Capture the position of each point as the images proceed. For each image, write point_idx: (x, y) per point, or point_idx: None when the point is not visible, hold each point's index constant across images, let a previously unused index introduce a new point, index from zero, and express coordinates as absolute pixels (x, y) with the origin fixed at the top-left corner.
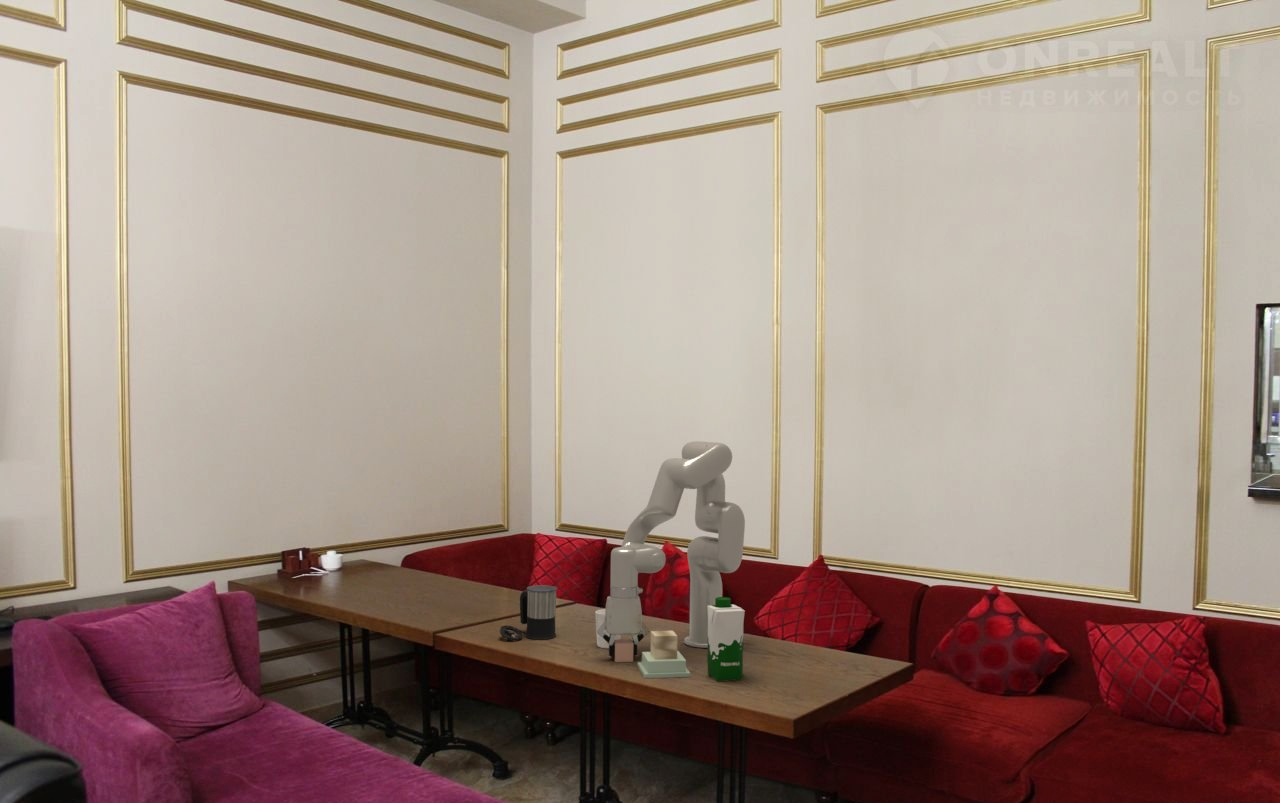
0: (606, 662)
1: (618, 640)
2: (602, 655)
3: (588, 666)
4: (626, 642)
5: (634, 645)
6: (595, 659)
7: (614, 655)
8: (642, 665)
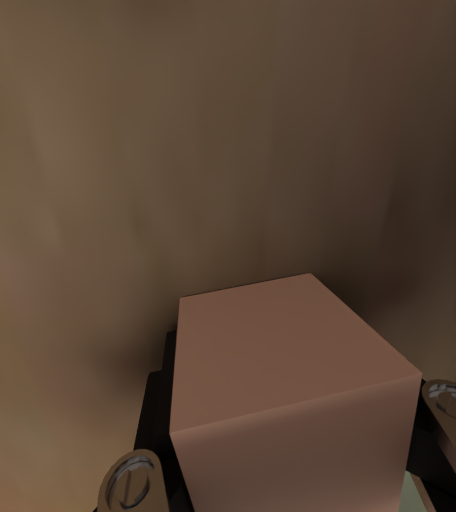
0: None
1: (250, 461)
2: (84, 239)
3: (50, 489)
4: (335, 505)
5: None
6: (53, 356)
7: None
8: None
